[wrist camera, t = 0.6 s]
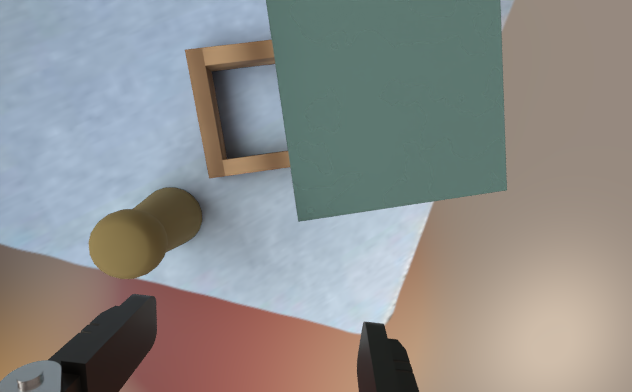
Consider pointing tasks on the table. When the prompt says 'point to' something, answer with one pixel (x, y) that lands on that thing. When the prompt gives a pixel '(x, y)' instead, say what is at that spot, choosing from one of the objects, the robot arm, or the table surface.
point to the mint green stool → (389, 101)
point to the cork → (144, 233)
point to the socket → (207, 107)
